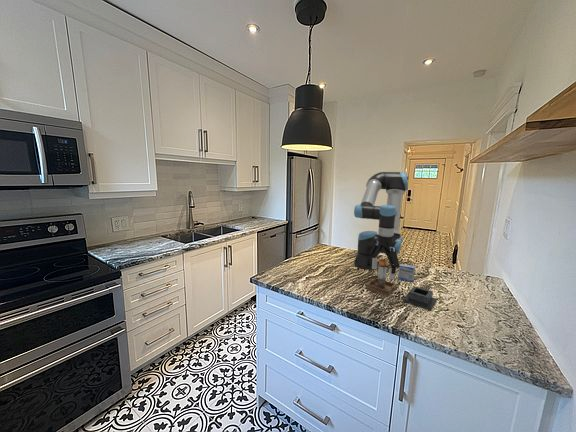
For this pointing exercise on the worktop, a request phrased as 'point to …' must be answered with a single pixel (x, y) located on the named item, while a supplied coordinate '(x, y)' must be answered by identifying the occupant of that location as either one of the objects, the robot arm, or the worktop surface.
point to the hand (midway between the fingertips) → (382, 273)
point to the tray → (373, 287)
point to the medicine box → (406, 272)
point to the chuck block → (420, 298)
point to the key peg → (382, 274)
